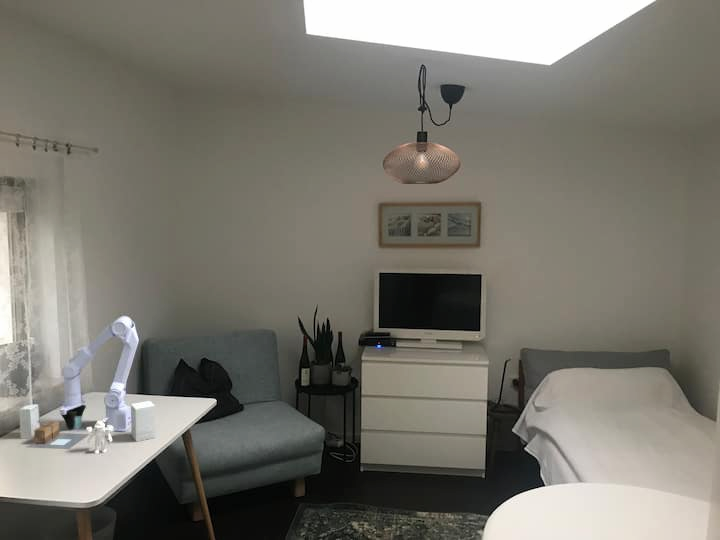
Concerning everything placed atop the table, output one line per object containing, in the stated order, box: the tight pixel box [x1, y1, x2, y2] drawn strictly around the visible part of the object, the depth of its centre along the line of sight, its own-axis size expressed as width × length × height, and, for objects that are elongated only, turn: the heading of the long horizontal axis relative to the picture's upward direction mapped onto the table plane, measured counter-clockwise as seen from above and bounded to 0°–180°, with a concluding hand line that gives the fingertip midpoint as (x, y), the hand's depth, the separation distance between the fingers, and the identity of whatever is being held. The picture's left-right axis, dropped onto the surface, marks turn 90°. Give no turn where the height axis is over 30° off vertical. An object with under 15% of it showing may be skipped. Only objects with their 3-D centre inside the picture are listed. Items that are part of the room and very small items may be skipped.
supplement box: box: [130, 400, 157, 442], centre depth 217 cm, size 7×7×13 cm
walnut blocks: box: [34, 421, 60, 444], centre depth 212 cm, size 4×8×5 cm, turn 176°
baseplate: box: [26, 432, 90, 450], centre depth 211 cm, size 16×14×1 cm
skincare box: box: [18, 403, 41, 440], centre depth 215 cm, size 6×4×12 cm
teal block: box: [65, 416, 83, 431], centre depth 224 cm, size 4×4×5 cm
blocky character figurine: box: [85, 417, 114, 454], centre depth 203 cm, size 9×4×12 cm, turn 107°
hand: (74, 426), depth 224 cm, fingers closed on teal block, 4 cm apart
